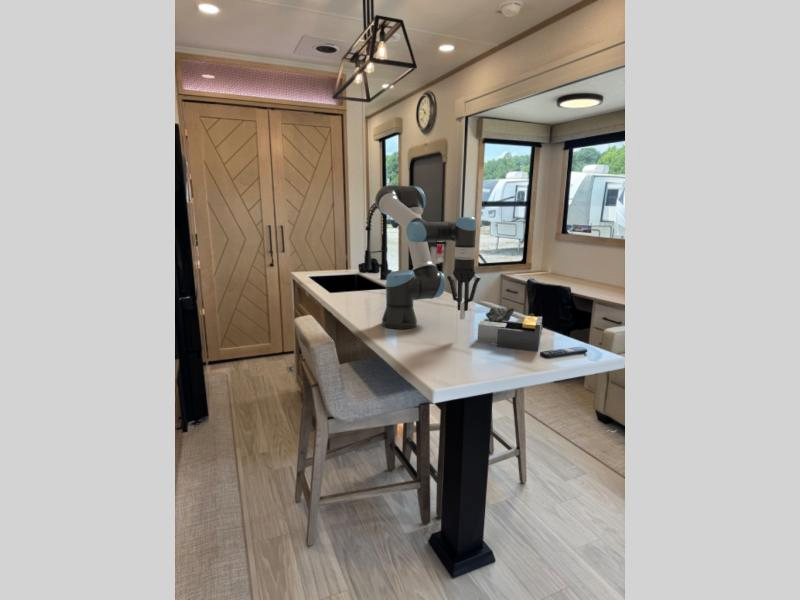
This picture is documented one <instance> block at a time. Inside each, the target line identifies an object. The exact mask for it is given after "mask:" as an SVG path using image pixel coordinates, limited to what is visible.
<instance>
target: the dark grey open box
mask: <svg viewBox="0 0 800 600" xmlns="http://www.w3.org/2000/svg"><path fill="white" fill-rule="evenodd" d="M523 320H524V322H516V321H513V320H503V321H502V323H507V328H498V335H497V344H496V347H497V348H501V349H511V350H519V351H525V352H528V351H529V352H535V353H538V352H539V348H540V345H541V344H540V343H541V338H542V337H541V336H542V335H541V333H542V331H541V325H542V326H543V324H542V323H543V316H535V317H532V316H529V315H525V318H523Z"/></svg>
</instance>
